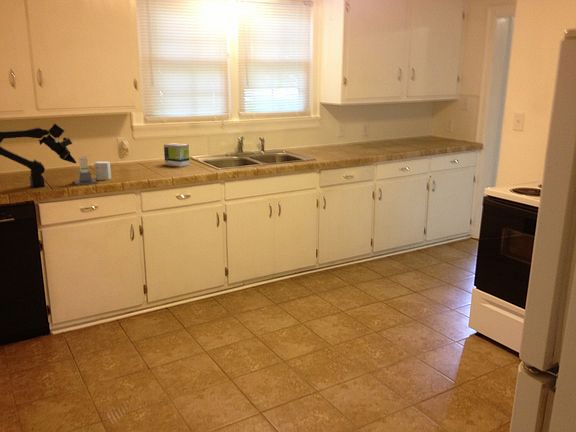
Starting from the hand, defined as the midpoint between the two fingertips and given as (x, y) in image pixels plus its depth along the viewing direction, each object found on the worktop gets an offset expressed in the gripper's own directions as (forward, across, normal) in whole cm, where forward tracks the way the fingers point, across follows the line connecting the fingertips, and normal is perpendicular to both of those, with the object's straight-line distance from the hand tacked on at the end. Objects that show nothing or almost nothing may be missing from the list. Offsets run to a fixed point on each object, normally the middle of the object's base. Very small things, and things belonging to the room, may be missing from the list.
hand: (75, 161), depth 316 cm
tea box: (+58, +33, -40) cm, 78 cm away
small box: (+21, +6, -2) cm, 22 cm away
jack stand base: (+12, 0, +6) cm, 14 cm away
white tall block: (+9, 0, +2) cm, 9 cm away
